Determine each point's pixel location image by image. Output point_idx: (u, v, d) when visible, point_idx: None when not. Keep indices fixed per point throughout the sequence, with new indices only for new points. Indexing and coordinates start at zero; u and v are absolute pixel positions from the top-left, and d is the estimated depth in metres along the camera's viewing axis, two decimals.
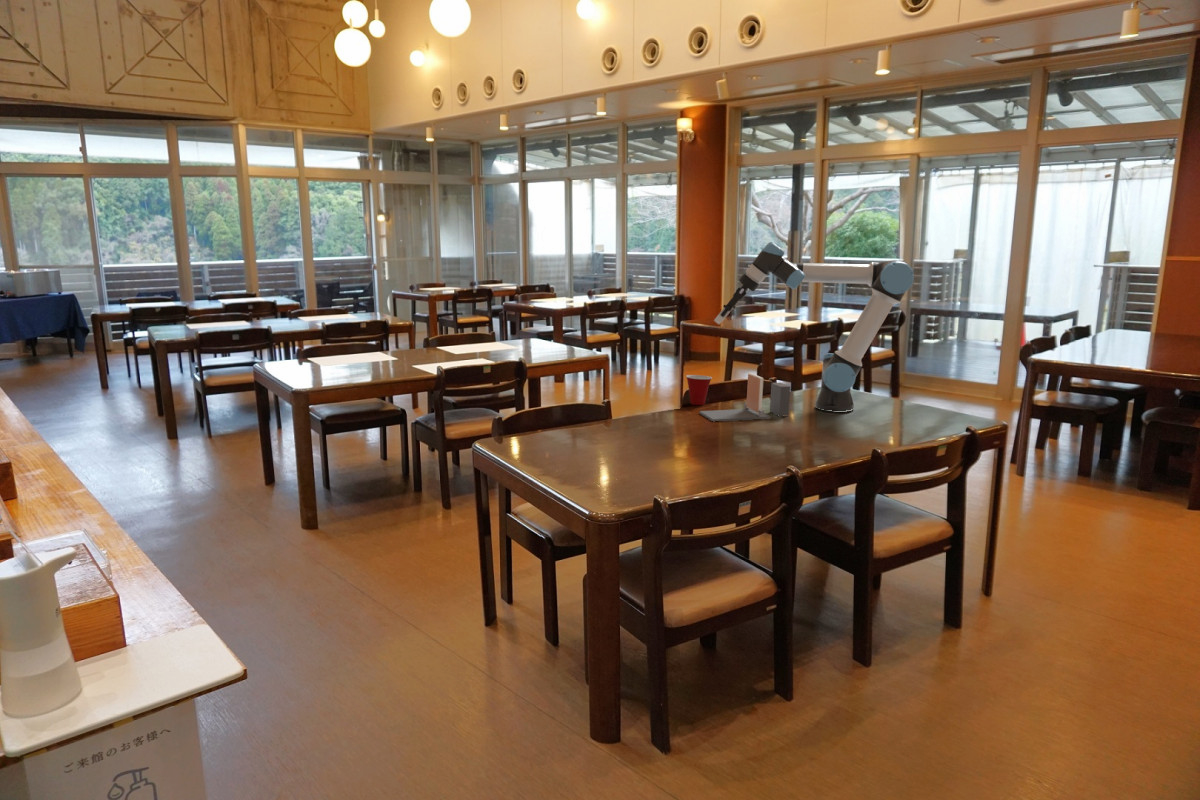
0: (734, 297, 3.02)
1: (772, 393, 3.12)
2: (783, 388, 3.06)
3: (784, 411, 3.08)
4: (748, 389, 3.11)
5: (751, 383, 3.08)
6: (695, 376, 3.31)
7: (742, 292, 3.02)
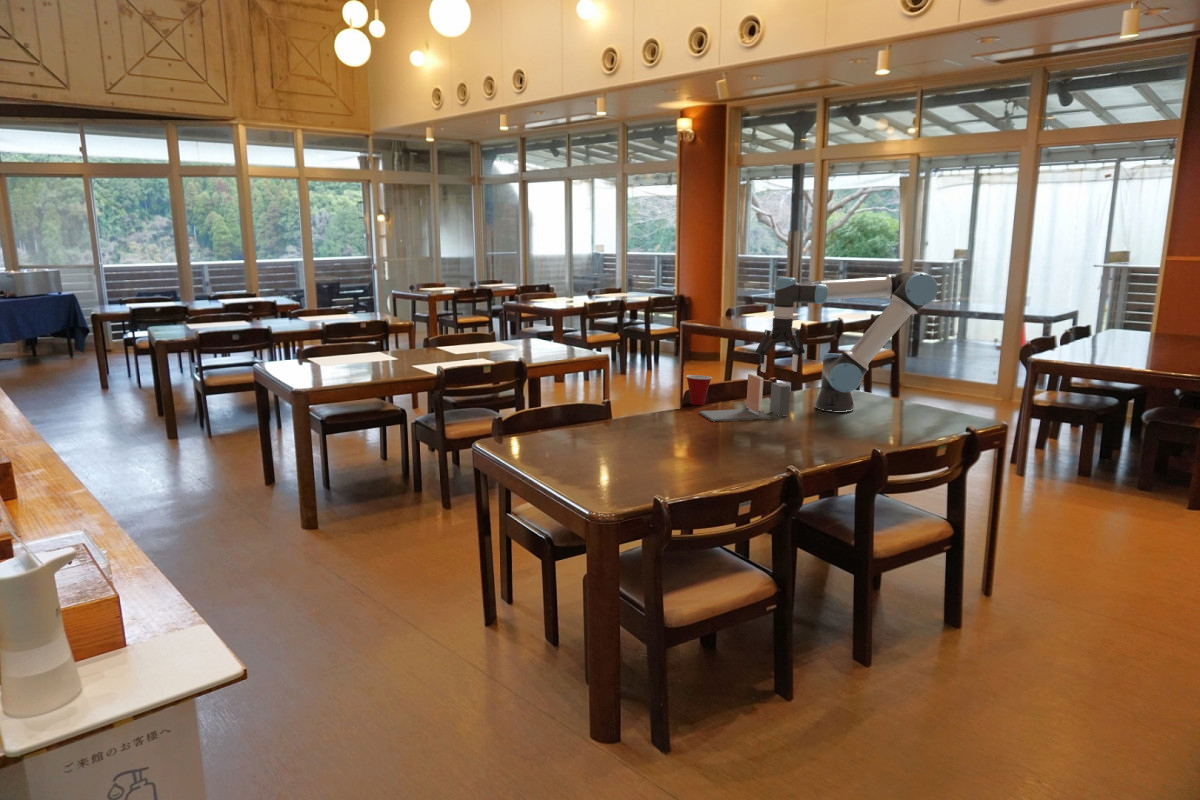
0: (761, 341, 3.04)
1: (772, 393, 3.12)
2: (783, 388, 3.06)
3: (784, 411, 3.08)
4: (748, 389, 3.11)
5: (751, 383, 3.08)
6: (695, 376, 3.31)
7: (766, 333, 3.03)
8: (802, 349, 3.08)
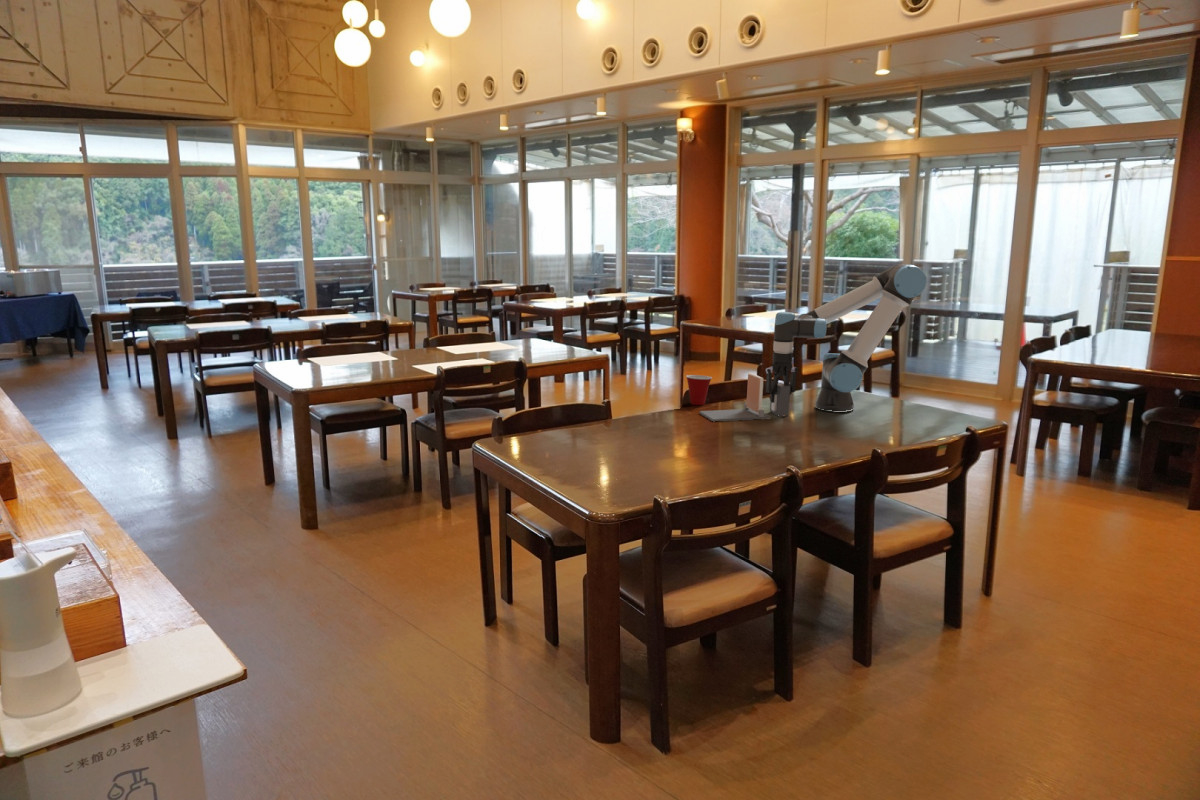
0: (766, 380, 3.08)
1: None
2: (783, 388, 3.05)
3: (784, 411, 3.08)
4: (748, 389, 3.11)
5: (751, 383, 3.08)
6: (695, 376, 3.31)
7: (767, 372, 3.06)
8: (793, 388, 3.10)
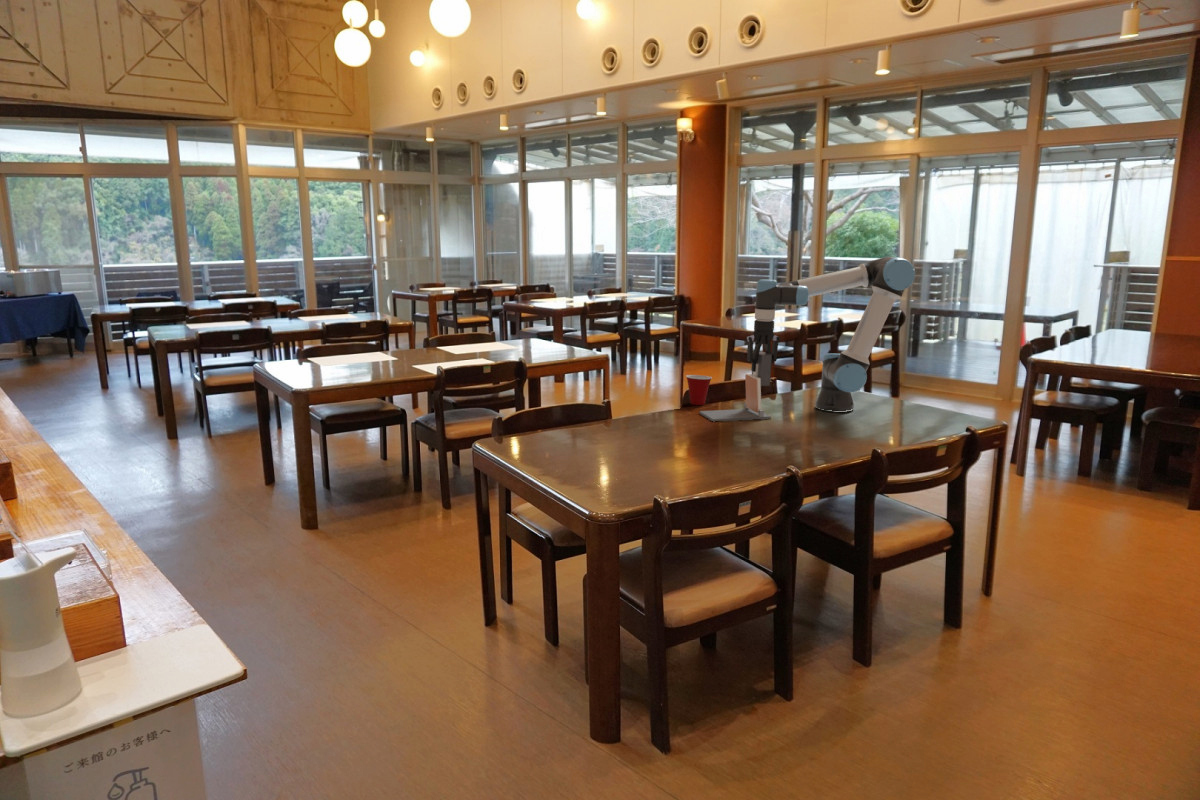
0: (748, 348, 3.03)
1: None
2: (764, 356, 3.01)
3: (765, 380, 3.03)
4: (746, 389, 3.10)
5: (749, 383, 3.07)
6: (695, 376, 3.31)
7: (748, 340, 3.01)
8: (775, 357, 3.05)
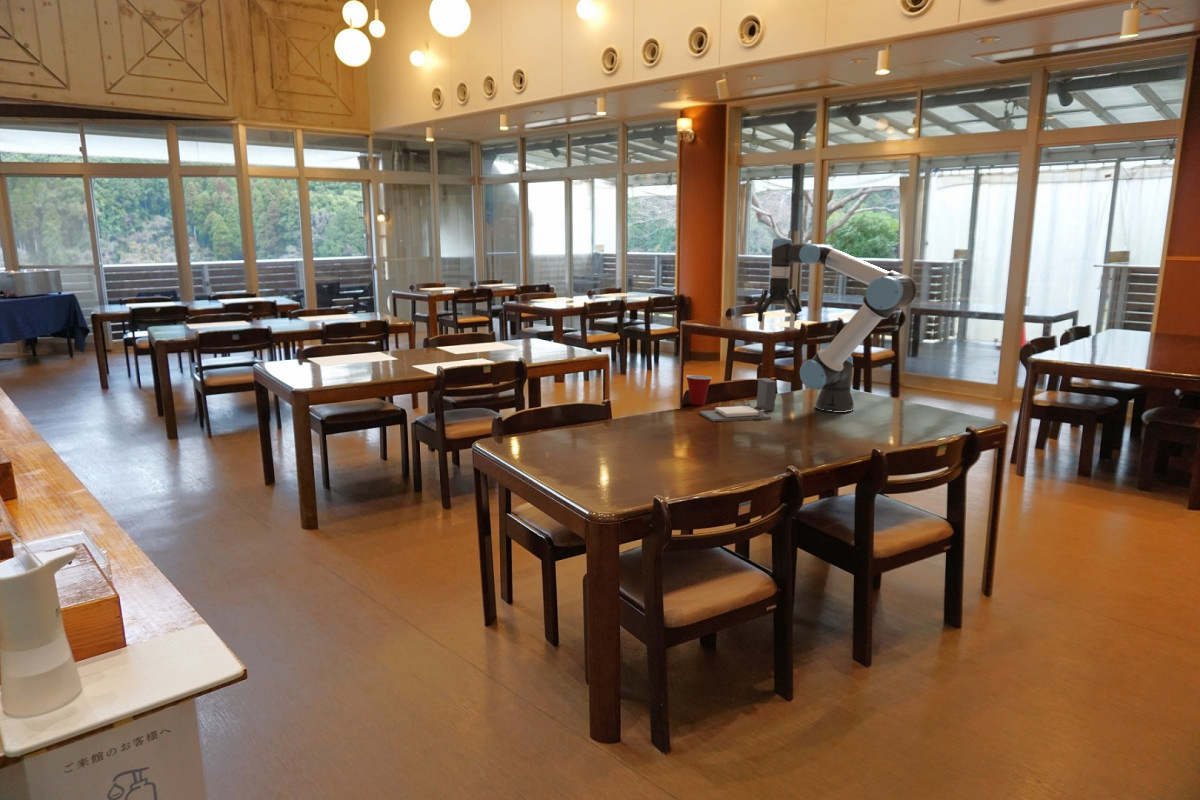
0: (759, 300, 3.17)
1: (759, 388, 3.21)
2: (769, 383, 3.15)
3: (770, 405, 3.17)
4: None
5: None
6: (695, 376, 3.31)
7: (764, 292, 3.16)
8: (799, 308, 3.21)
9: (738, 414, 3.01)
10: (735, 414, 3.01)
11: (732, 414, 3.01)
